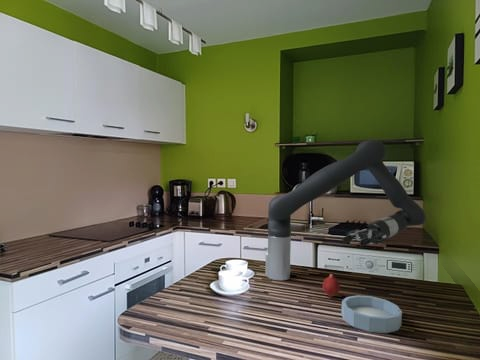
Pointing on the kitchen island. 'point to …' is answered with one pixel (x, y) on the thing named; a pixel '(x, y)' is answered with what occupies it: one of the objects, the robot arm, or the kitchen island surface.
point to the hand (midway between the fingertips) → (351, 242)
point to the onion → (331, 286)
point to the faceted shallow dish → (371, 314)
